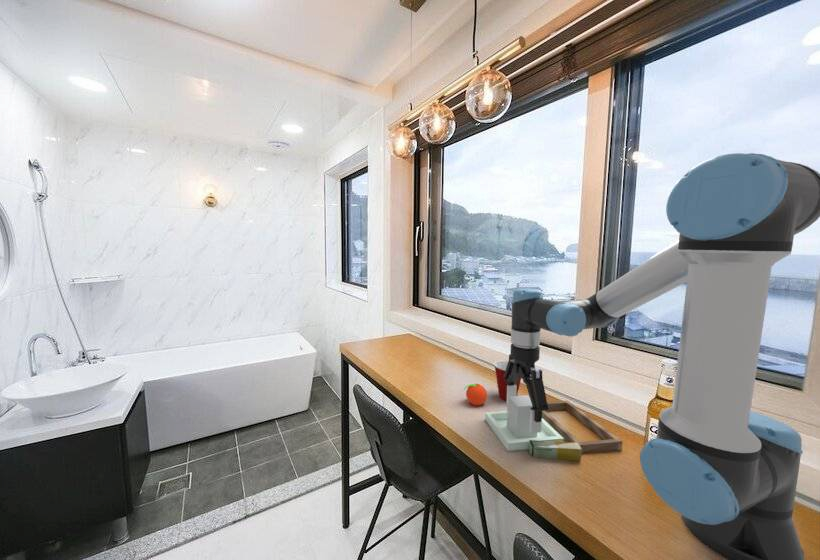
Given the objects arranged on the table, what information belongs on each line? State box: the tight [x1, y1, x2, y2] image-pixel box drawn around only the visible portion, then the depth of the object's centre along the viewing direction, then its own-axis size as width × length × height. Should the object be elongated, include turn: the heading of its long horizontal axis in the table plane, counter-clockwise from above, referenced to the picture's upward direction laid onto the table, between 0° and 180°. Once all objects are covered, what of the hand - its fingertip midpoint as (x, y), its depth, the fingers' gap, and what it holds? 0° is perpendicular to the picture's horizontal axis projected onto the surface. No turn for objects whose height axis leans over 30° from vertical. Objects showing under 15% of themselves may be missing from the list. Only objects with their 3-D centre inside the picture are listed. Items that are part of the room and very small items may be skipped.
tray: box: [484, 410, 565, 452], centre depth 89 cm, size 15×15×3 cm
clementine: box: [462, 383, 488, 406], centre depth 106 cm, size 8×7×7 cm
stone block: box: [506, 394, 537, 438], centre depth 88 cm, size 6×6×9 cm
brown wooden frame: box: [542, 400, 623, 454], centre depth 92 cm, size 22×12×2 cm, turn 8°
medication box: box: [528, 440, 582, 462], centre depth 79 cm, size 12×3×4 cm, turn 84°
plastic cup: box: [493, 360, 522, 402], centre depth 111 cm, size 11×11×12 cm
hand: (522, 418), depth 88 cm, fingers open, 13 cm apart
